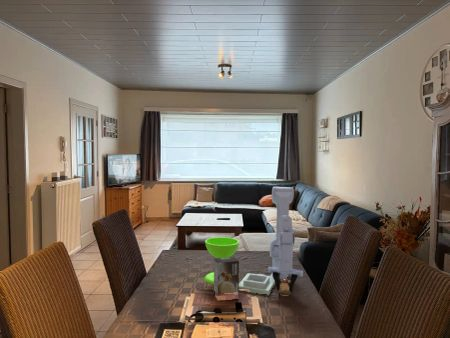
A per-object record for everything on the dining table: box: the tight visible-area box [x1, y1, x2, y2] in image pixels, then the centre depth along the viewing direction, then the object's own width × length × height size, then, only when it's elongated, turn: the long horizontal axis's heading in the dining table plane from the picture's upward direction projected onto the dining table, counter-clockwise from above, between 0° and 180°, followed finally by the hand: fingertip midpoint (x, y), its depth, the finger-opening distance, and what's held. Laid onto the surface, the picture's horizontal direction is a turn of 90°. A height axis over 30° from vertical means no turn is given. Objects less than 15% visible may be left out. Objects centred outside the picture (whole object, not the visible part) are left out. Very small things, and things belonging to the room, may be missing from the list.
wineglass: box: [204, 236, 240, 285], centre depth 169 cm, size 16×16×18 cm
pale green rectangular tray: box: [239, 272, 276, 296], centre depth 162 cm, size 18×14×4 cm
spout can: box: [278, 278, 292, 296], centre depth 153 cm, size 5×5×6 cm
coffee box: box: [213, 256, 240, 294], centre depth 148 cm, size 9×6×16 cm
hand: (284, 290), depth 153 cm, fingers closed on spout can, 5 cm apart
